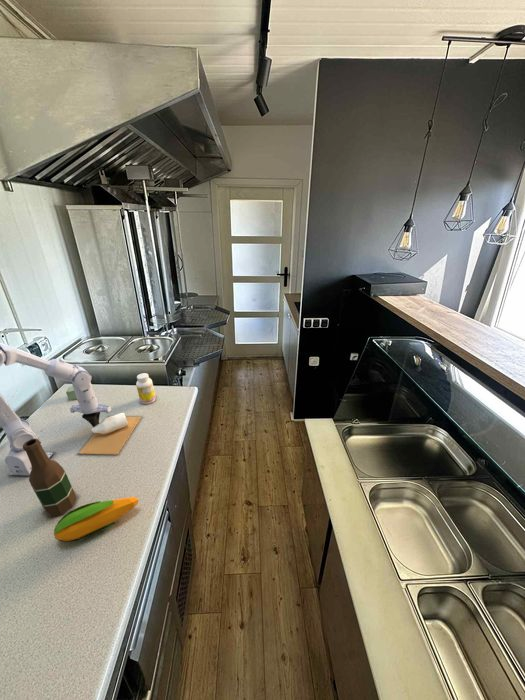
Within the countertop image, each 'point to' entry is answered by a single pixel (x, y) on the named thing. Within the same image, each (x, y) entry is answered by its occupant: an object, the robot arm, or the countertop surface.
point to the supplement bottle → (145, 388)
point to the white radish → (111, 424)
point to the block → (71, 393)
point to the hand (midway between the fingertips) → (96, 426)
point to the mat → (110, 440)
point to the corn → (92, 518)
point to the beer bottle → (49, 480)
